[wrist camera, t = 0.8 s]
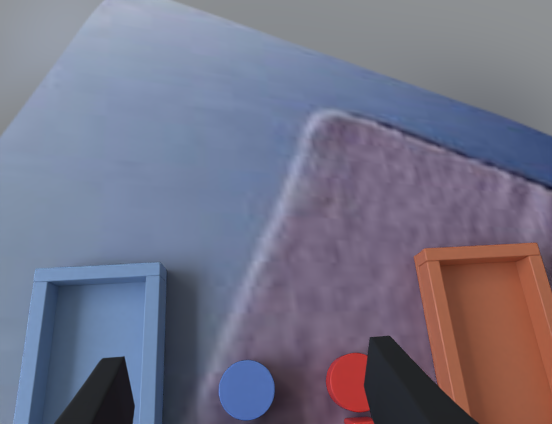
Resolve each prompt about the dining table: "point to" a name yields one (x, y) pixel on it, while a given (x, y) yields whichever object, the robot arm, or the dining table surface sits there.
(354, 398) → the red spoon
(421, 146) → the dining table surface
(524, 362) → the terracotta tray
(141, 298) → the blue tray
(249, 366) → the blue spoon
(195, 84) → the dining table surface
